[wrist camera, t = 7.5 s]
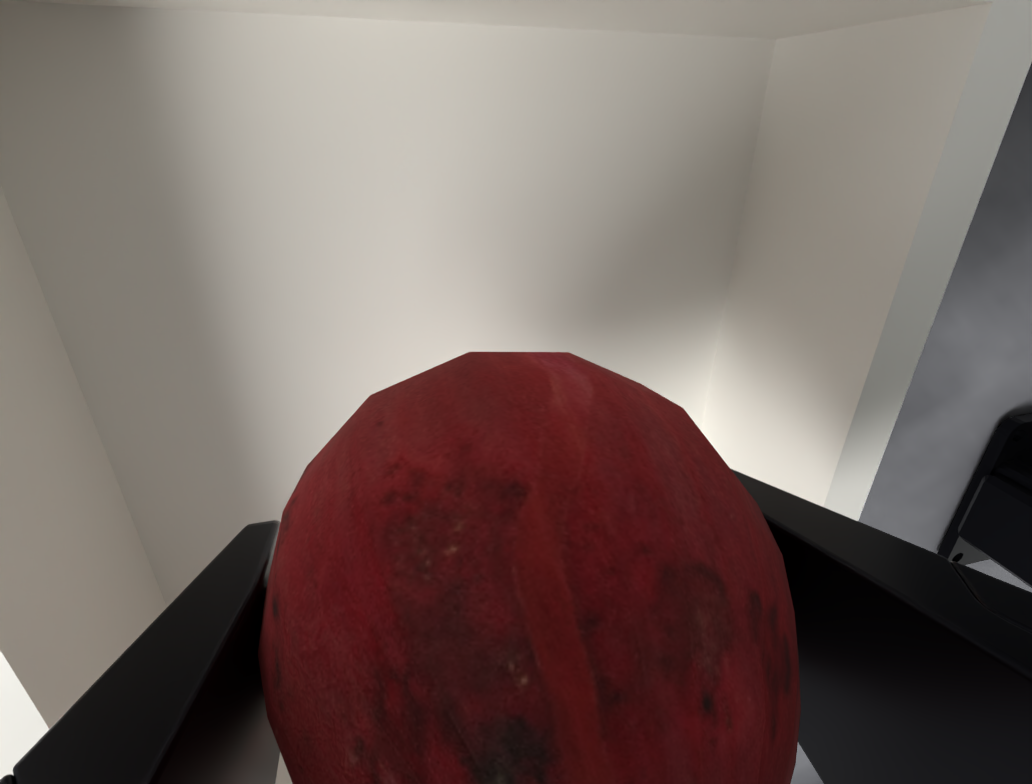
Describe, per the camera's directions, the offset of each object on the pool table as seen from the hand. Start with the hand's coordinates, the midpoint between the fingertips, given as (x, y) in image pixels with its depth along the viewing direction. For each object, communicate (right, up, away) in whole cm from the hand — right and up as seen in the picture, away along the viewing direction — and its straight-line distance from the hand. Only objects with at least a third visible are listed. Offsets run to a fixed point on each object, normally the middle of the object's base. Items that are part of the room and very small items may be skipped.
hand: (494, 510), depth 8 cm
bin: (-1, +2, +4) cm, 5 cm away
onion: (-1, +1, +2) cm, 2 cm away
